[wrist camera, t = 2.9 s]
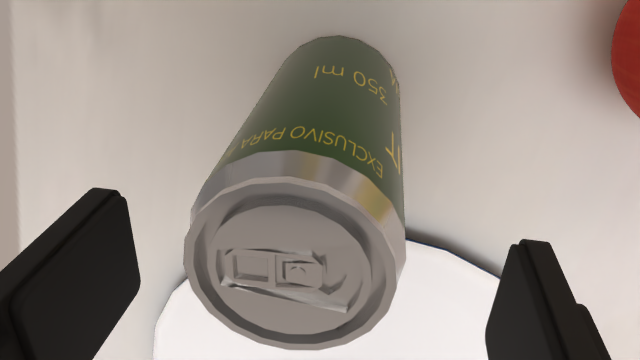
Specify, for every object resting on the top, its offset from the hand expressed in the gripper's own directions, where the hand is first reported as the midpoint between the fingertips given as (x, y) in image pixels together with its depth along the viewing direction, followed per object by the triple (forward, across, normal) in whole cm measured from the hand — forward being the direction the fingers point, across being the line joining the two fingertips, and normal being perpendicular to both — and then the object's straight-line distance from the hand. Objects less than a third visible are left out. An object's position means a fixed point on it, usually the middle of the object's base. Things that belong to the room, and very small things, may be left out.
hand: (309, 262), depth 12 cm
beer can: (+11, +1, 0) cm, 11 cm away
